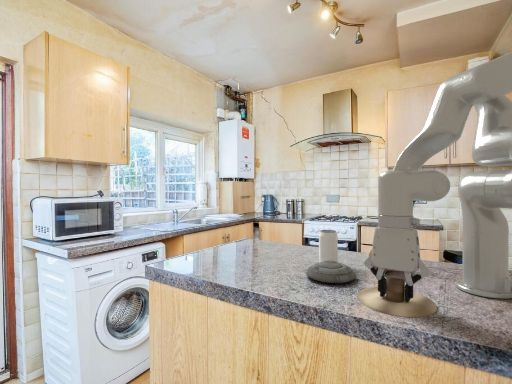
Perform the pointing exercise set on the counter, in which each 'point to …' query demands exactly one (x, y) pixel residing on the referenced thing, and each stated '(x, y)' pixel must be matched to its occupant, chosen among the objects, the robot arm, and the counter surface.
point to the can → (328, 245)
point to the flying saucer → (331, 272)
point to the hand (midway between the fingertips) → (395, 297)
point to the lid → (397, 300)
